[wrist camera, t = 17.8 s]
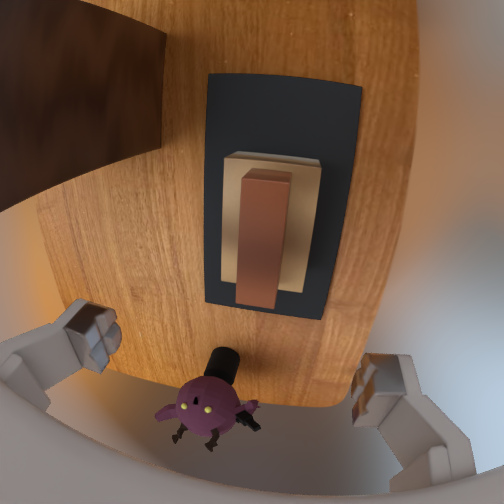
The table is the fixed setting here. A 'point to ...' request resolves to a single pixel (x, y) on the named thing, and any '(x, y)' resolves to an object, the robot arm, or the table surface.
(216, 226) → the mat
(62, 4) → the riser
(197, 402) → the figurine
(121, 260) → the table surface
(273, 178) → the stepped wooden block
